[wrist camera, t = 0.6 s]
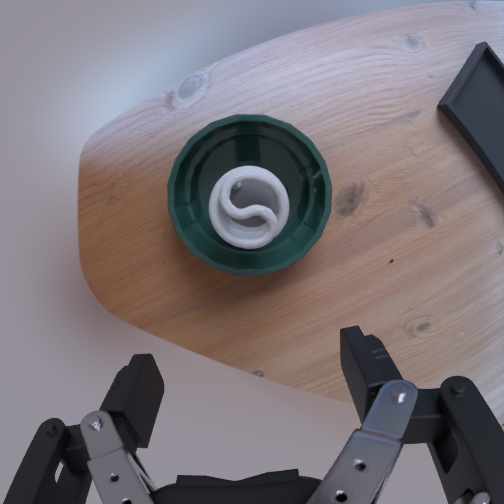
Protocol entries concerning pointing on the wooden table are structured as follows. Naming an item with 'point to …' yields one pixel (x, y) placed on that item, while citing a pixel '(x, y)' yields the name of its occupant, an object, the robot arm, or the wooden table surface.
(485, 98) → the tray
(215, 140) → the bowl
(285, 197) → the light bulb
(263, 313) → the wooden table surface
